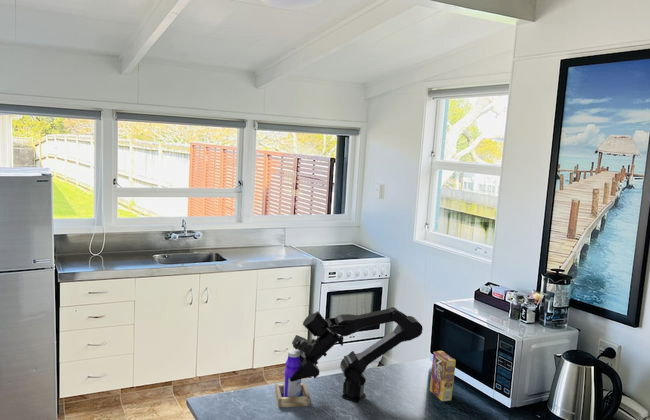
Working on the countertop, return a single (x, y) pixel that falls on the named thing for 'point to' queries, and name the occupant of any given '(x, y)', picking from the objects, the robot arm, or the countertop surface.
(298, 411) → the countertop surface
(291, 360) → the bottle
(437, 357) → the candy box
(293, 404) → the wooden square frame
